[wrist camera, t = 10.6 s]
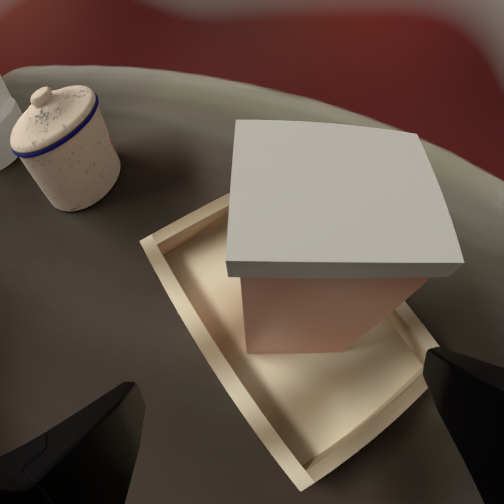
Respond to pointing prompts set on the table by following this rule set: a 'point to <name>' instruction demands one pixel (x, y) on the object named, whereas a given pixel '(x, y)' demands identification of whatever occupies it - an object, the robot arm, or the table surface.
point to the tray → (288, 357)
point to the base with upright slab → (7, 124)
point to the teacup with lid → (67, 147)
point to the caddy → (330, 231)
